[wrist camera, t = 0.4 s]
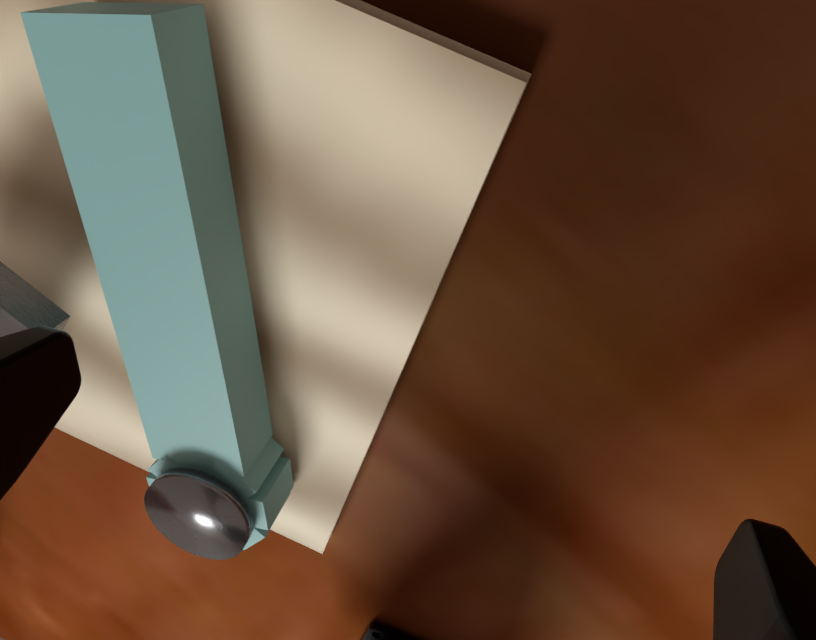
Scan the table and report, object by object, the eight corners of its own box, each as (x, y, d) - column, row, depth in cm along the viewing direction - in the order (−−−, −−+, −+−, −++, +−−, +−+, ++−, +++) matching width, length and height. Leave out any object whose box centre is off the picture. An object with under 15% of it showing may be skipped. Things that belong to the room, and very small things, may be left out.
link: (298, 514, 29) (273, 560, 27) (194, 492, 30) (164, 534, 28) (222, 4, 18) (171, 15, 16) (66, 1, 20) (2, 12, 18)
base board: (331, 534, 32) (322, 554, 31) (-101, 330, 33) (-123, 343, 32) (531, 73, 19) (526, 82, 18) (-202, -242, 20) (-245, -250, 19)
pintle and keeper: (336, 436, 27) (286, 527, 23) (232, 526, 32) (177, 613, 28) (44, 200, 24) (-67, 255, 20) (-17, 337, 29) (-115, 403, 26)
